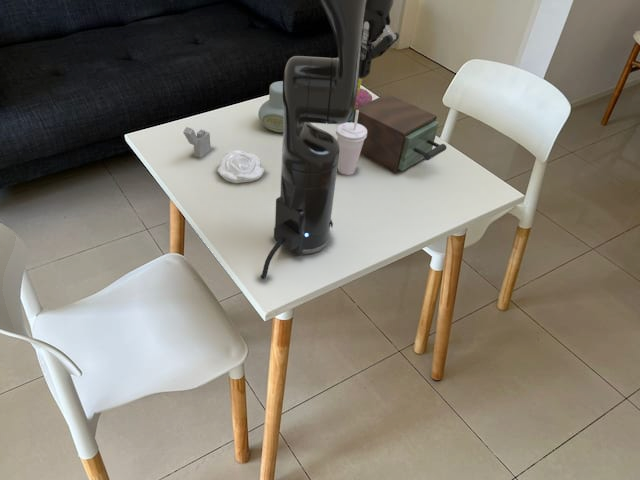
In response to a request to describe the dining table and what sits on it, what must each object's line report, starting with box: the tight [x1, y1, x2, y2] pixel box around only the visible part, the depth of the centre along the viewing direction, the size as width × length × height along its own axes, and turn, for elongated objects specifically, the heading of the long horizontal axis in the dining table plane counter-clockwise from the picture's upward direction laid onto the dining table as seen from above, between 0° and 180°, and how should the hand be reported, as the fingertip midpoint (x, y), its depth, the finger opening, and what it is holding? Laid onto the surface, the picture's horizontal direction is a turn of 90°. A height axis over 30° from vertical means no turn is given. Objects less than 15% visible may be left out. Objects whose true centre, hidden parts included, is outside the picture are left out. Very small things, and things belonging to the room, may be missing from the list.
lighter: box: [182, 126, 212, 159], centre depth 114 cm, size 7×2×8 cm, turn 151°
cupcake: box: [349, 78, 373, 122], centre depth 128 cm, size 9×8×12 cm
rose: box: [217, 149, 265, 184], centre depth 111 cm, size 10×4×10 cm
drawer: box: [398, 120, 447, 172], centre depth 115 cm, size 17×10×8 cm, turn 43°
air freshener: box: [258, 80, 283, 133], centre depth 124 cm, size 11×8×10 cm
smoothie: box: [335, 110, 367, 176], centre depth 110 cm, size 6×6×14 cm
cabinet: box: [351, 93, 438, 174], centre depth 117 cm, size 14×12×10 cm
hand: (360, 76), depth 100 cm, fingers closed
